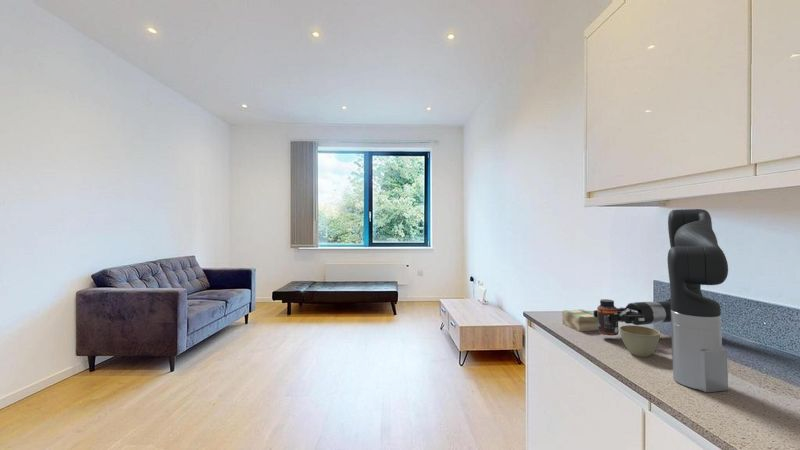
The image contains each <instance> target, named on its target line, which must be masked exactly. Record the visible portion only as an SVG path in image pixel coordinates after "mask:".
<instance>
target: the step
mask: <svg viewBox="0 0 800 450" xmlns="http://www.w3.org/2000/svg"><path fill="white" fill-rule="evenodd" d="M561 313H562V325H564V324H565V326H566V325H567V326H566V327H568V328H571V329H573V330H575V329H576V330H575V331H577V330H578V331H577V332H588V331H598V317H594V312H590V311H587V310H585V309H574V310H573V309H572V310H567V309H565V310H562V311H561Z"/></svg>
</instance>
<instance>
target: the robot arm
mask: <svg viewBox="0 0 800 450" xmlns="http://www.w3.org/2000/svg"><path fill="white" fill-rule="evenodd" d="M667 227H668V228H667V229H668V237H669V244H670V245H669V246H670V247H669V250H668V252H667V269H668V270H667V271H668V278H669V280H668V281H669V288H670V289H669V292H670V293H669V294H670V298H669V299H666V300H664V301H663V300H662V301H636V302H629V303H628V304H627V305H626V306H625V307H622V306H620V307H616V308H617V310H618V314H614V315H607V321H608V322H618V323H625V324H626V325H636V326H643V325H644V326H646V325H657V324H660V323H670V328H671V329H670V330H671V331H670V332H671V333H670V334H671V355H672V356H671V357H672V360H671V361H672V377H673V378H672V379H673V380H674V381H675V382H677V383H679V384H680V385H682V386H684V387H688V388H690V389H695V390H699V391H702V392H704V393H714V392H724V391H729V370H728V349H726V348H725V347H723V339H722V335H723V334H722V314H721V304H720V303H719V302H718V301H715V300H714V299H711V298H707V297H705V296H704V295H703V293H702V291H701V286H718V285H722V284H723V283H724V282H725V281H726V280H727V277H728V275H729V264H728V260H727V258H726V257H727V256H726V254H725V253H724V251H723V249H722V248H721V247H720V245H719V244H718V239H717V235H716V233H715V231H714V230H713V221H712V217H711V215H710V213H709V211H707V210H706V209H702V208H690V209H672V210H670V212H669V213H668V217H667ZM593 313H594V317H598V313H597V309H595V310H593Z"/></svg>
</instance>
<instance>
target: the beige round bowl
mask: <svg viewBox="0 0 800 450" xmlns="http://www.w3.org/2000/svg"><path fill="white" fill-rule="evenodd" d="M618 329H619V333H620V337H621V339H622V341H623V344H624V346H625V347H626V349H627V351H628V352H629V353H630V354H631V355H634V356H637V357H641V358H643V357H644V358H645V357H646V358H647V357H650V356H651V355H652V354H653V353H654V352H655V350H656V348H657V346H658V345H659V341H660V338H661V337H660V336H661V332H660V331H659V330H657V329H655V328H653V327H648V326H645V325H644V326H643V325H634V324H626V325H622V326H621V325H620V326H619V327H618Z"/></svg>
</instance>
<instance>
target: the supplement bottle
mask: <svg viewBox="0 0 800 450" xmlns="http://www.w3.org/2000/svg"><path fill="white" fill-rule="evenodd" d="M614 302H615V301H614V300H612V299H607V298H602V299H600V300H599V304H600V305H597V308H596V310H597V313H598V330H597V331H598V332H599V333H600V335H601V334H602V335H605V336H618V335H619V333H620V329H619V321H618V322H608V321H607V315H614V314H618V310H617V308H618V307H616V306H615V303H614Z"/></svg>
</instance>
